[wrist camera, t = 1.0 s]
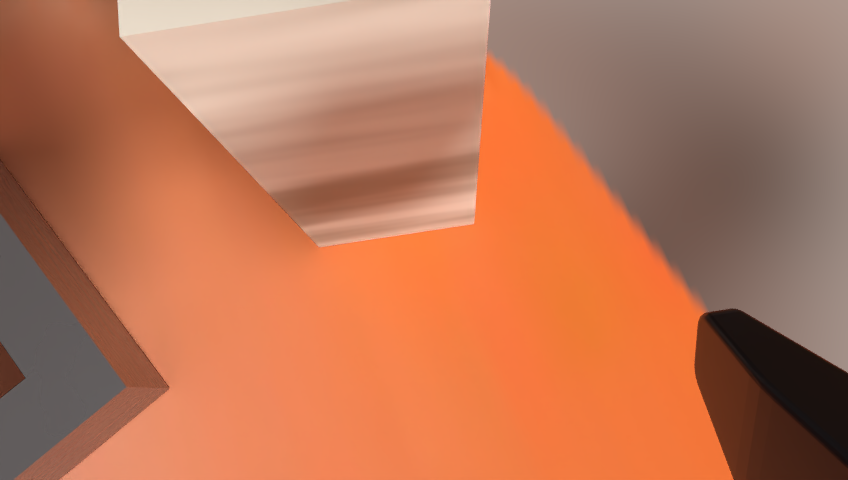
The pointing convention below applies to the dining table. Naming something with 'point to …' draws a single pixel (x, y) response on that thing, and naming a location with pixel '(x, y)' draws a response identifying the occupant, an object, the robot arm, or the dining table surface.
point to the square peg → (333, 102)
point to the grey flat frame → (59, 351)
